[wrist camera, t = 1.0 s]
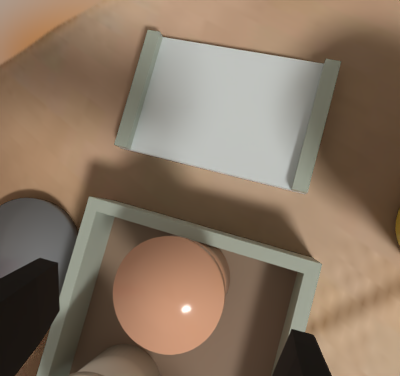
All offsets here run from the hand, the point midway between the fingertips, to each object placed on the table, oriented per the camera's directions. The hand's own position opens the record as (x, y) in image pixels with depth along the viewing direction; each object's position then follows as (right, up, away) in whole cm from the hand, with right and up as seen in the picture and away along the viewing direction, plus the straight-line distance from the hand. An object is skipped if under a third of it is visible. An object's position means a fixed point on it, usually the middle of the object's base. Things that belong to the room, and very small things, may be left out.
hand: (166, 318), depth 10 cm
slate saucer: (-12, -1, +16) cm, 20 cm away
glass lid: (+3, +10, +14) cm, 17 cm away
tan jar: (0, -2, +13) cm, 13 cm away
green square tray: (-1, -7, +13) cm, 15 cm away
